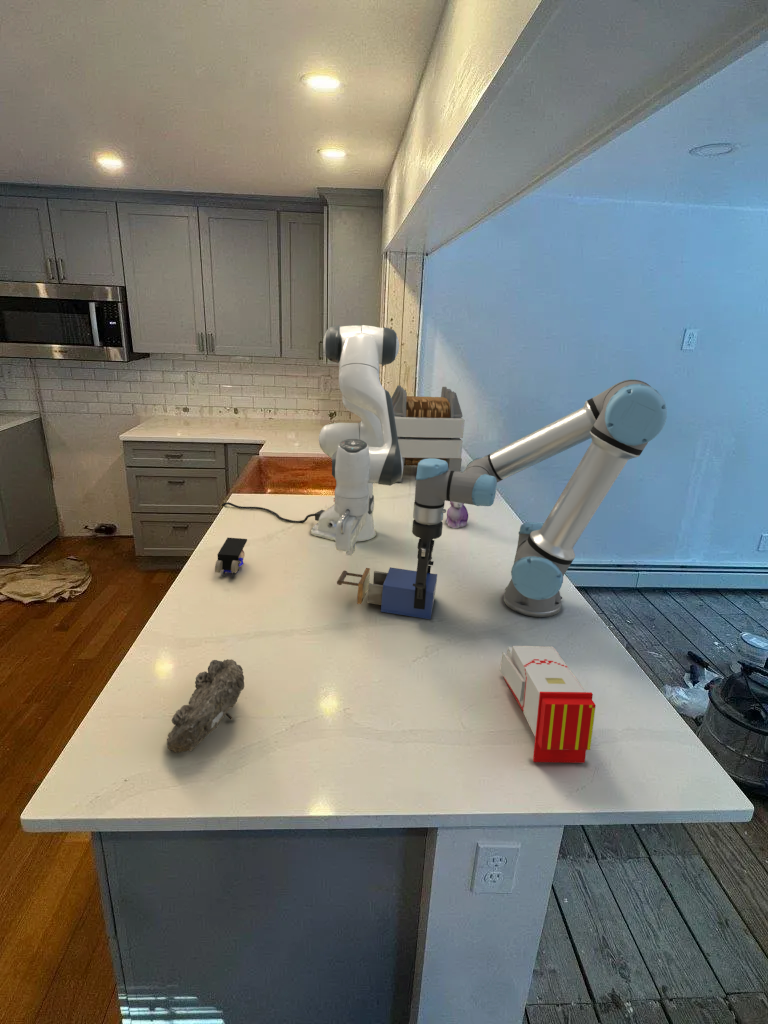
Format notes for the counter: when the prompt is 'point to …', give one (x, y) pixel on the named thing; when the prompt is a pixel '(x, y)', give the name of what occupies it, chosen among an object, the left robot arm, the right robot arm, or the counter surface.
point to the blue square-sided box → (406, 593)
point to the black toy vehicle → (230, 556)
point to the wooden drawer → (367, 585)
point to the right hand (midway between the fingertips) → (421, 597)
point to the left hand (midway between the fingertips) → (350, 553)
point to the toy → (550, 702)
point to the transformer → (429, 428)
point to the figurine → (457, 515)
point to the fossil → (206, 705)
